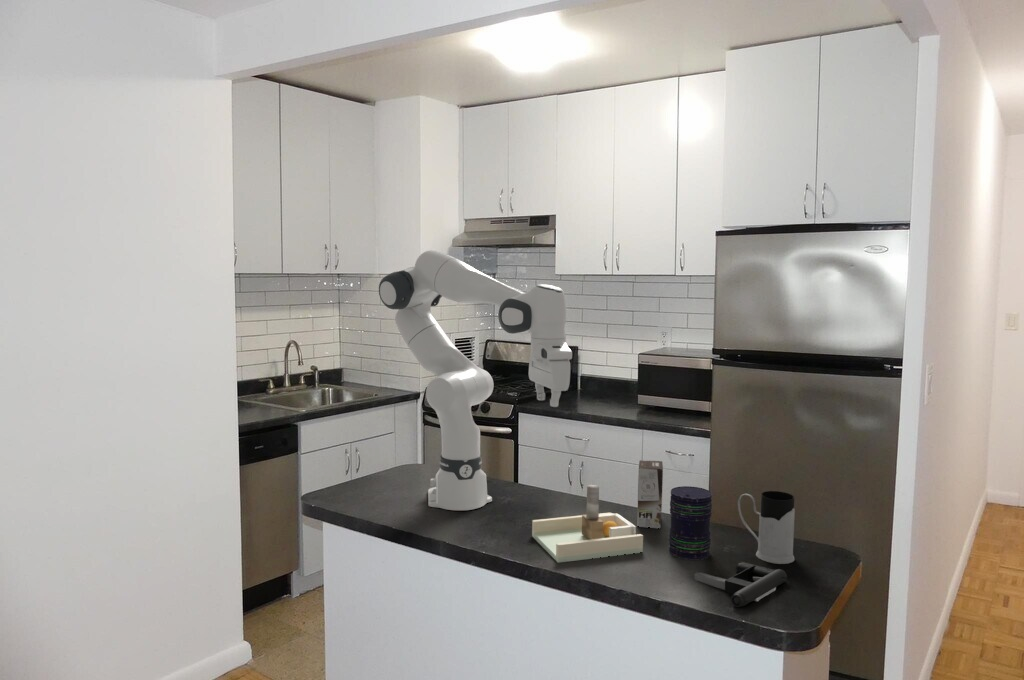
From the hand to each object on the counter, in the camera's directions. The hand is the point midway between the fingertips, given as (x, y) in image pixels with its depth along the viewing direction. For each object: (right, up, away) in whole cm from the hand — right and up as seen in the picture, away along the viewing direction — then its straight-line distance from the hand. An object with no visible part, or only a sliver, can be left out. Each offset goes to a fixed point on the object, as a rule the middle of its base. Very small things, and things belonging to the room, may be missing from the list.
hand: (547, 403), depth 191 cm
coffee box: (+28, -34, +13) cm, 46 cm away
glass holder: (+52, -36, -9) cm, 64 cm away
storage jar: (+34, -36, -9) cm, 50 cm away
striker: (+11, -33, -4) cm, 35 cm away
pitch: (+9, -35, -4) cm, 36 cm away
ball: (+16, -31, -2) cm, 35 cm away
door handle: (+40, -38, -27) cm, 62 cm away
